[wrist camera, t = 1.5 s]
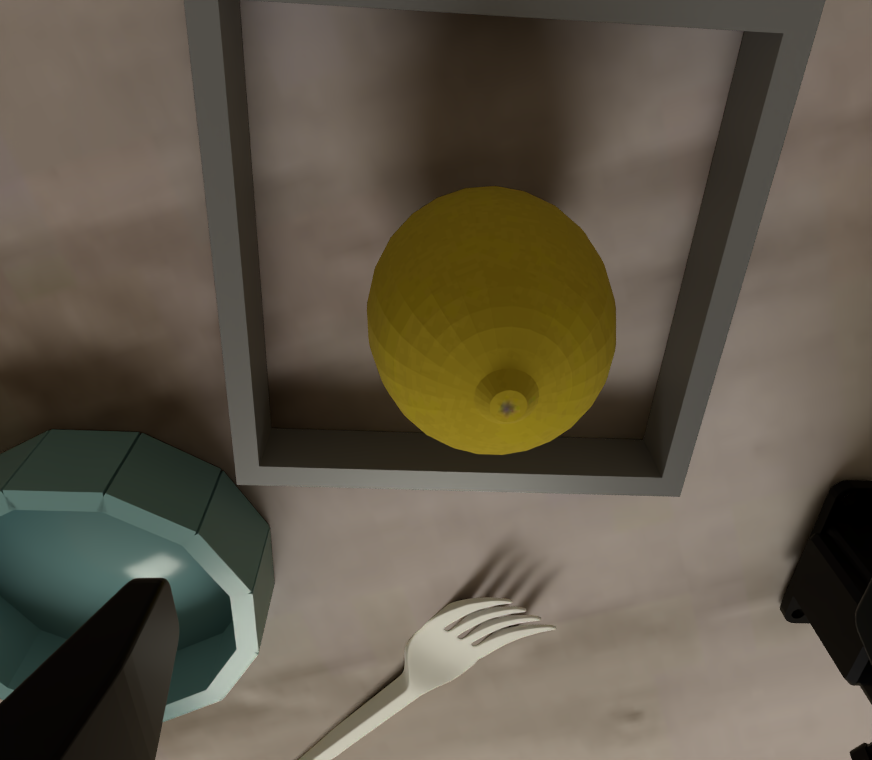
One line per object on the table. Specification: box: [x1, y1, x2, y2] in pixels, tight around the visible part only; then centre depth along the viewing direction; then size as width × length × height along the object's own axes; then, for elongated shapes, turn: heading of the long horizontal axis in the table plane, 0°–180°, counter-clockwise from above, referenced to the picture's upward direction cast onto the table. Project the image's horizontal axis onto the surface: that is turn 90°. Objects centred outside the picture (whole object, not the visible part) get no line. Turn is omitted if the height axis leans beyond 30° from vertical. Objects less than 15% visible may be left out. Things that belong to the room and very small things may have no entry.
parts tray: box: [184, 0, 825, 497], centre depth 18 cm, size 13×13×2 cm
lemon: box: [367, 186, 616, 455], centre depth 16 cm, size 6×6×8 cm
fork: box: [298, 597, 556, 760], centre depth 29 cm, size 3×20×2 cm, turn 140°
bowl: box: [0, 429, 275, 722], centre depth 23 cm, size 10×10×3 cm
